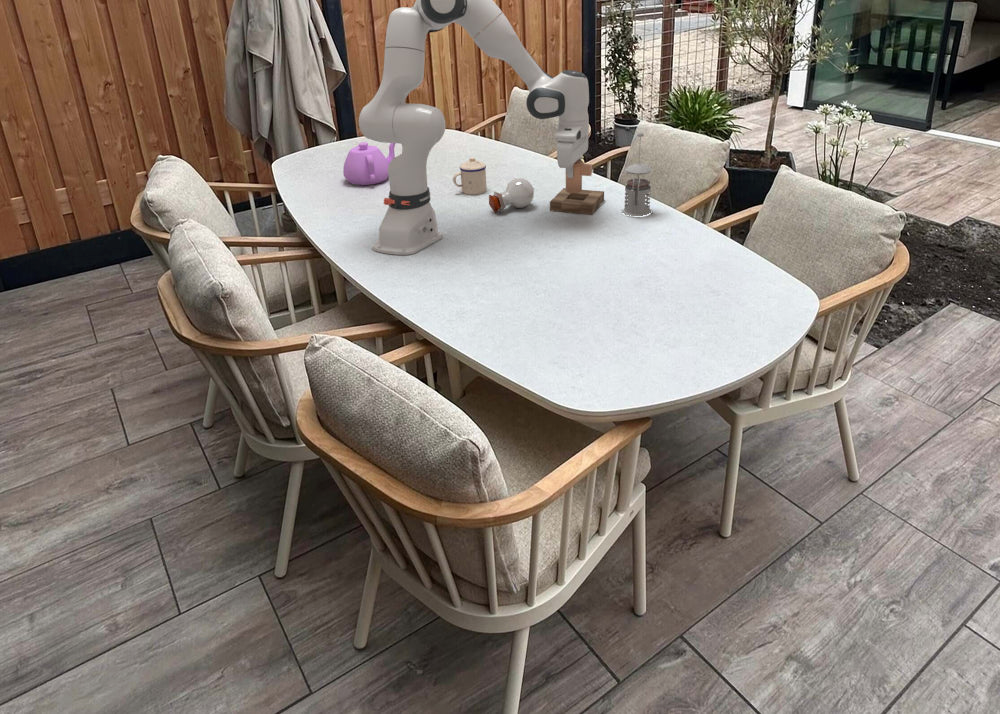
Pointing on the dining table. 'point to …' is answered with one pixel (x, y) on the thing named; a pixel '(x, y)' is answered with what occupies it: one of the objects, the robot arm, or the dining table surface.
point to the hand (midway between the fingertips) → (573, 173)
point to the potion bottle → (513, 195)
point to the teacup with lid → (472, 177)
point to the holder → (577, 201)
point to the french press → (637, 189)
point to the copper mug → (578, 176)
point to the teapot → (367, 164)
